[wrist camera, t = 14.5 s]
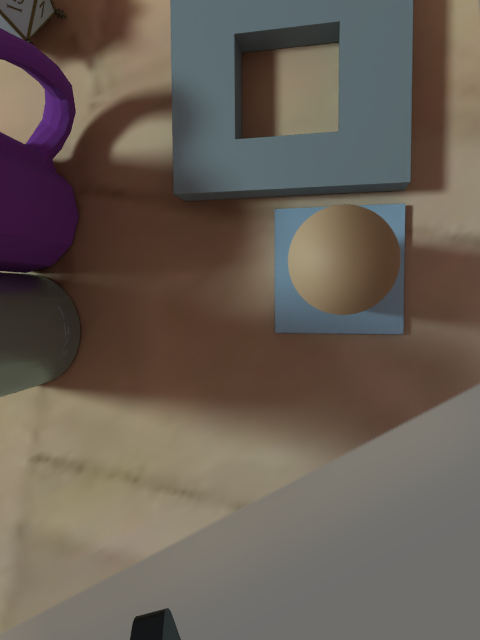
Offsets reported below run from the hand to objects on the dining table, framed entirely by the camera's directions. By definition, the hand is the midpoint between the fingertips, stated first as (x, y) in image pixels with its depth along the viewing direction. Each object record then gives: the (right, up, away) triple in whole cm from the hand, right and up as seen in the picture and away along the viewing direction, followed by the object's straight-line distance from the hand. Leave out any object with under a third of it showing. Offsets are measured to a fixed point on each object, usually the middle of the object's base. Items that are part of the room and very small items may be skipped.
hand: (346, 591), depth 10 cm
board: (+1, +22, +23) cm, 32 cm away
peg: (+5, +10, +22) cm, 25 cm away
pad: (+5, +10, +23) cm, 25 cm away
